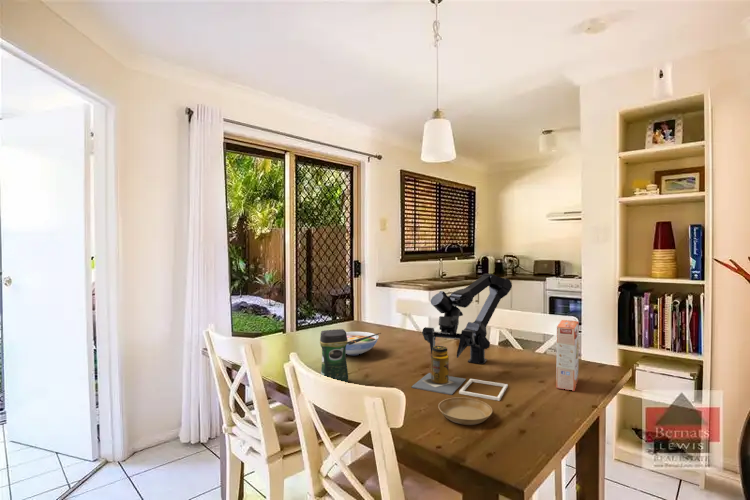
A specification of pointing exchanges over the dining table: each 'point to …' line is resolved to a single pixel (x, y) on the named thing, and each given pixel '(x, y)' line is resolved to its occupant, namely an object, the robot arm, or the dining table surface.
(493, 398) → the ceramic frame
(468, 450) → the dining table surface
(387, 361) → the dining table surface
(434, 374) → the condiment
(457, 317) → the robot arm
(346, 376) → the coffee jar
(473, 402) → the plant saucer
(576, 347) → the cracker box
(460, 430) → the dining table surface
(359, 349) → the ramen bowl
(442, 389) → the rubber mat
